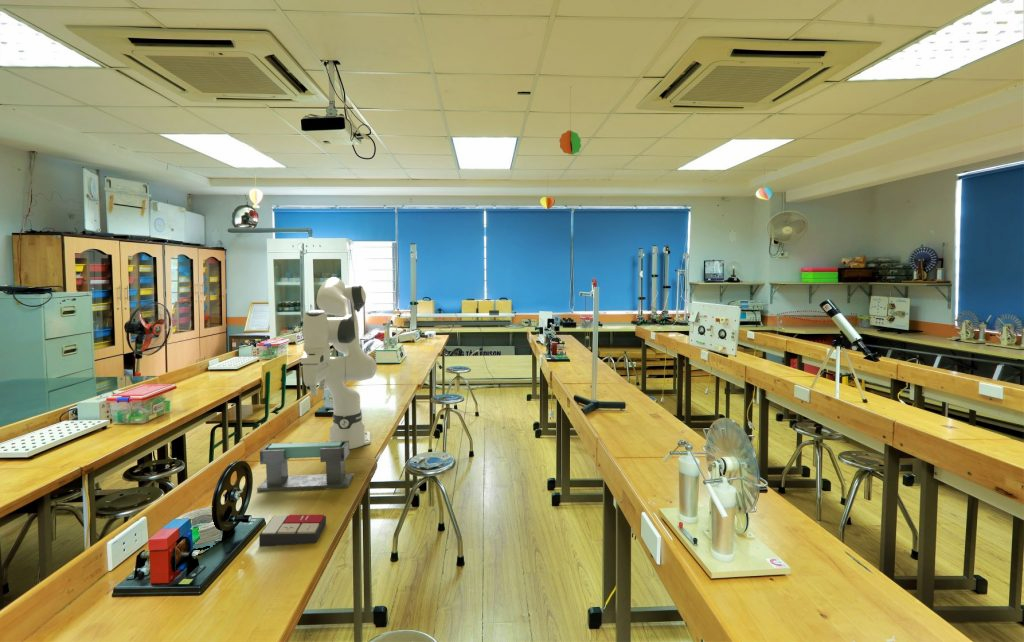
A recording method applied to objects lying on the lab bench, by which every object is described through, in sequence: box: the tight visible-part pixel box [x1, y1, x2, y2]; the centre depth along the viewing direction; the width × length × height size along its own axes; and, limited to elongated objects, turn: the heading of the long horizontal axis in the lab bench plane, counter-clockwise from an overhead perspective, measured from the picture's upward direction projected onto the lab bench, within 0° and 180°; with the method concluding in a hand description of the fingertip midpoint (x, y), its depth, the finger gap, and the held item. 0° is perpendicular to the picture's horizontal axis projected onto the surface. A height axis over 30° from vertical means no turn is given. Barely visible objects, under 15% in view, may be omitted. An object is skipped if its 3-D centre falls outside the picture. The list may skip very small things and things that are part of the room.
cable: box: [175, 506, 221, 545], centre depth 139 cm, size 18×18×6 cm
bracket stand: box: [256, 440, 355, 492], centre depth 175 cm, size 10×30×14 cm, turn 96°
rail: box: [268, 441, 342, 459], centre depth 175 cm, size 4×24×4 cm, turn 96°
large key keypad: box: [258, 514, 327, 548], centre depth 141 cm, size 11×4×15 cm
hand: (318, 392), depth 180 cm, fingers open, 8 cm apart
